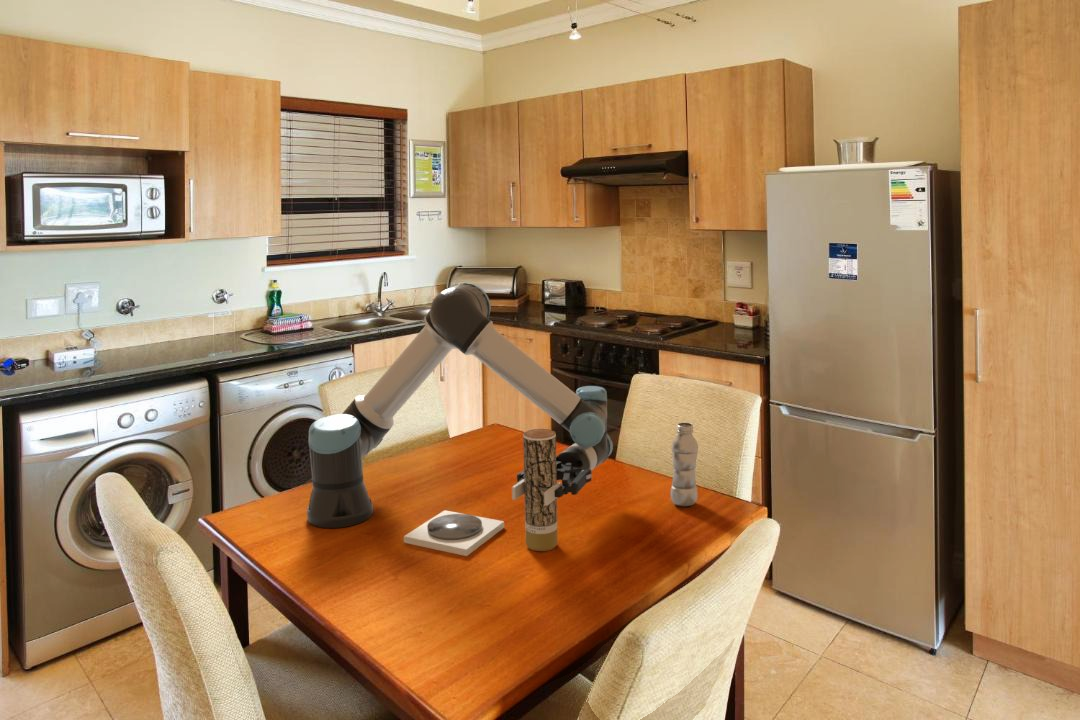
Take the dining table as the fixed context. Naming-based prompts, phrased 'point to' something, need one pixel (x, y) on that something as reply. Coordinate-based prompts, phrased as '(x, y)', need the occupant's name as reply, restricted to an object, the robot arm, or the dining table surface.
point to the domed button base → (454, 532)
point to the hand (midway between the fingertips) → (529, 496)
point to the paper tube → (540, 488)
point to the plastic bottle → (684, 466)
